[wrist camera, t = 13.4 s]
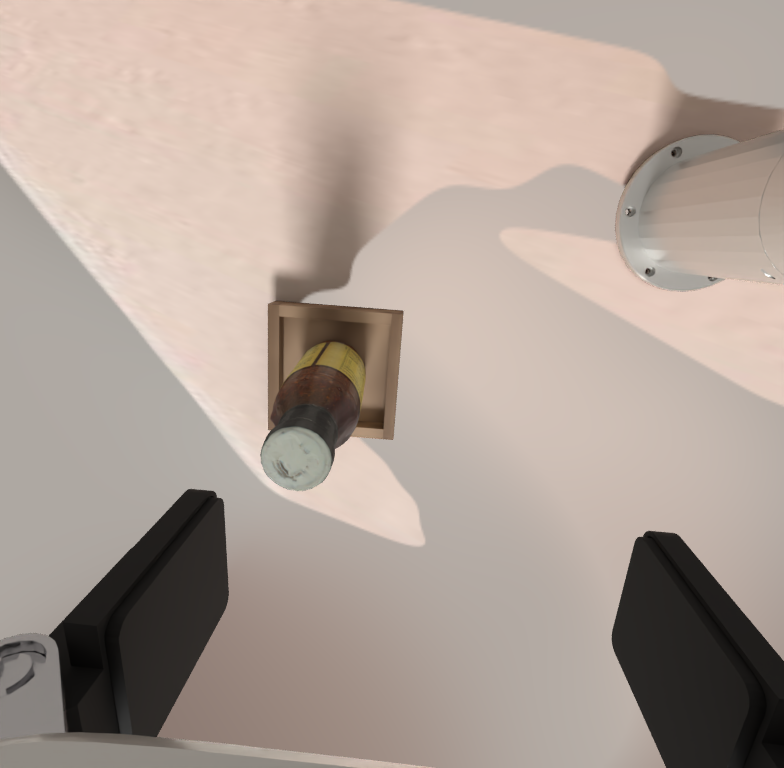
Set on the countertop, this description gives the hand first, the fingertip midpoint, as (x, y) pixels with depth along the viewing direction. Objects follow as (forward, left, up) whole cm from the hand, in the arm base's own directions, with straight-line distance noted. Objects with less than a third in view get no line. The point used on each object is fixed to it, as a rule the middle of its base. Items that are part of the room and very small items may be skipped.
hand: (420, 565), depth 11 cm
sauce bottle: (+7, +5, -35) cm, 36 cm away
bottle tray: (+7, +5, -35) cm, 36 cm away
